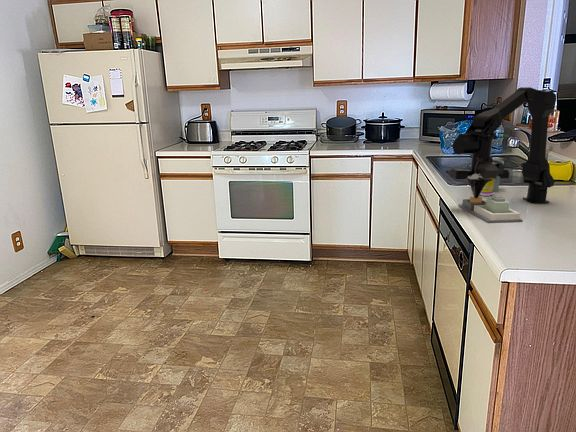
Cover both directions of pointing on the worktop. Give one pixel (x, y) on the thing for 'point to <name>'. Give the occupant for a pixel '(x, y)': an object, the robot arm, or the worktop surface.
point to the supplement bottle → (488, 188)
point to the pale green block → (497, 205)
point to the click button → (475, 199)
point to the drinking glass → (497, 180)
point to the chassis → (489, 213)
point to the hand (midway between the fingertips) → (476, 197)
